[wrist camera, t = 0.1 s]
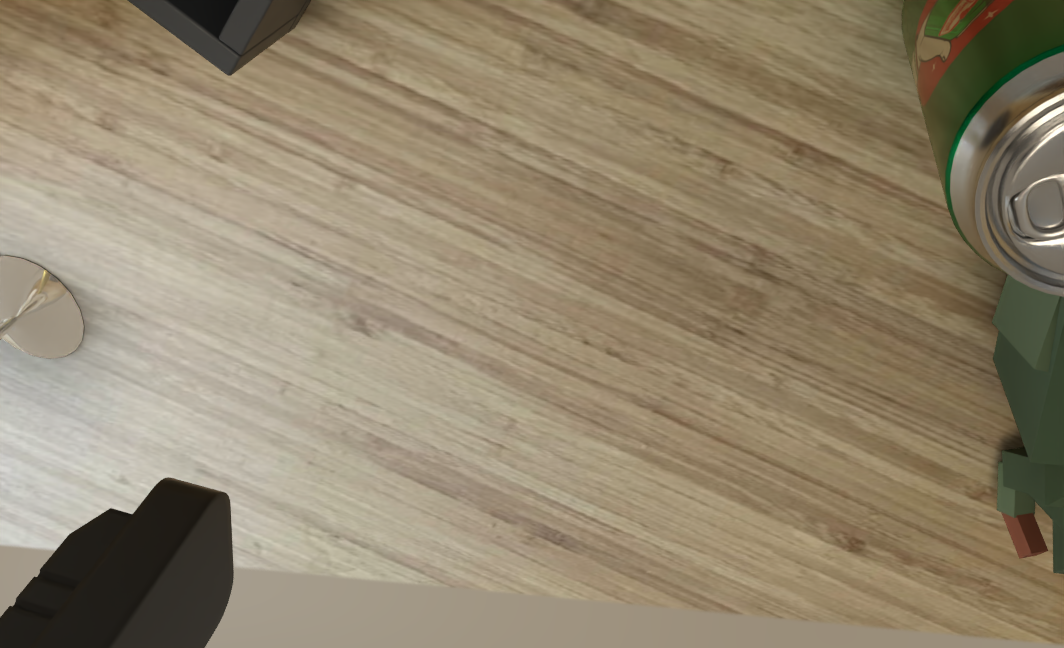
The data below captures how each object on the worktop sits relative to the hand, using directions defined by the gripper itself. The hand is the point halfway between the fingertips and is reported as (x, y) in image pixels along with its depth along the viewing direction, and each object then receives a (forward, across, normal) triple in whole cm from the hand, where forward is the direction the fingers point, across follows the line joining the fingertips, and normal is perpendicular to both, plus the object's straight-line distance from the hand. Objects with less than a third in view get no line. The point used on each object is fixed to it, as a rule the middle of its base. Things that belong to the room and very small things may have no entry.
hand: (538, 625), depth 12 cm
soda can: (+22, -8, -3) cm, 24 cm away
